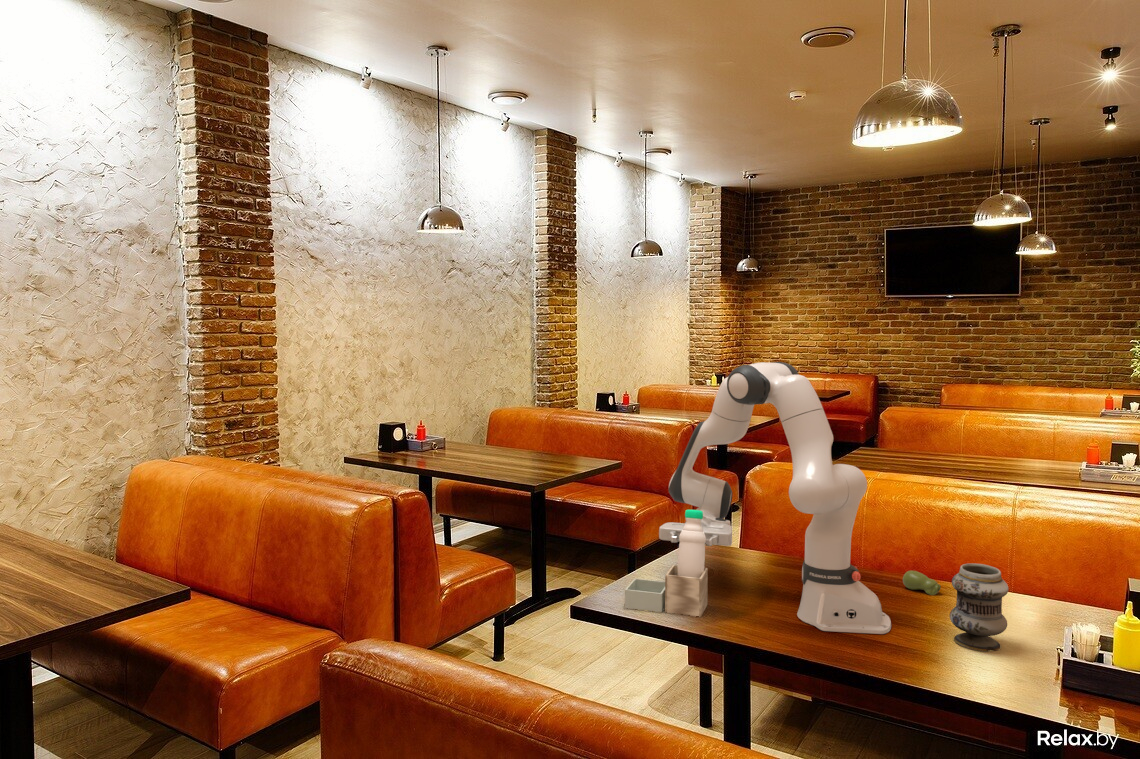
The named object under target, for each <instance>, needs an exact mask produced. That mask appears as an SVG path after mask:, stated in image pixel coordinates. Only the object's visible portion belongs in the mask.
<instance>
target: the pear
mask: <svg viewBox="0 0 1140 759" xmlns="http://www.w3.org/2000/svg"><path fill="white" fill-rule="evenodd" d="M902 583H903V586H905V587H906V588H907V589H908V590H912V591H917V590H921V591H924V592H925V593H926V595H930V596H935V595H938V594H939V592H940V590H941V589H942V588H941V584H939V583H938V581H936V580H935V579H932V578H930V577H928V576H927V575H926V574H924V573H922V572H919V571H917V570H907V571H906V572H905V573H904V574H903V576H902Z"/></svg>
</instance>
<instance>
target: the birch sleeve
mask: <svg viewBox="0 0 1140 759" xmlns="http://www.w3.org/2000/svg"><path fill="white" fill-rule="evenodd" d="M664 576H665V577H664V582H665V609H664V613H665V612H667V613H666V614H672V613H675V614H674V615H680V614H683V615H682V616H688V615H690V616H689V617H696V616H699V617H698V618H701V617H702V616H703V614H704V612H705V610H706V608H707V606H708V568H707V567H704V572H703V573H702V575H701V577H700V578H694V577H684V576H678V564H672V566H670V568H669V569H668V571H667V572H666V573H665V574H664Z"/></svg>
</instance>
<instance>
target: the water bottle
mask: <svg viewBox="0 0 1140 759" xmlns="http://www.w3.org/2000/svg"><path fill="white" fill-rule="evenodd" d="M684 511H685V513H684V519H685V522H686V524H685V526H684V527H683V530H682V531H681V533H680V536H679V540H680V542H679V544H678V553H677V565H678V576H684V577H694V578H700V577H701V575H702V573H703V572H704V568H705V561H706V560H705V557H706V545H705V542H706V537H705V534H704V532H703V528H702V526H701V521H702V519H703V512H702V511H700V510H696V509H686V510H684Z"/></svg>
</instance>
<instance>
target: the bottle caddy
mask: <svg viewBox="0 0 1140 759" xmlns="http://www.w3.org/2000/svg"><path fill="white" fill-rule="evenodd" d="M627 608H628V610H635V609H639V610H638V611H643V610H649V611H648V612H652V611H655V612H654V613H660V612H662V611H663V612H664V611H665V609H664V608H665V580H664V581H662V580H655V579H644V578H635V577H634V579H633V580H632V581H631V582H630V583H629V584H628V585H627V587H626V588H624V609H627ZM663 612H662V613H663Z"/></svg>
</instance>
